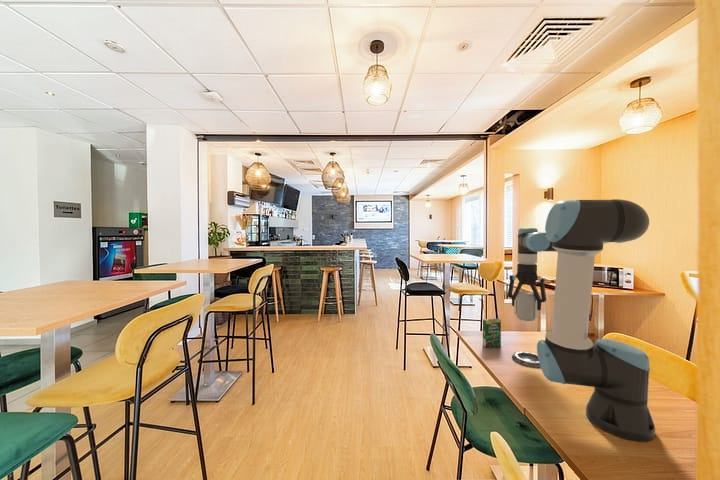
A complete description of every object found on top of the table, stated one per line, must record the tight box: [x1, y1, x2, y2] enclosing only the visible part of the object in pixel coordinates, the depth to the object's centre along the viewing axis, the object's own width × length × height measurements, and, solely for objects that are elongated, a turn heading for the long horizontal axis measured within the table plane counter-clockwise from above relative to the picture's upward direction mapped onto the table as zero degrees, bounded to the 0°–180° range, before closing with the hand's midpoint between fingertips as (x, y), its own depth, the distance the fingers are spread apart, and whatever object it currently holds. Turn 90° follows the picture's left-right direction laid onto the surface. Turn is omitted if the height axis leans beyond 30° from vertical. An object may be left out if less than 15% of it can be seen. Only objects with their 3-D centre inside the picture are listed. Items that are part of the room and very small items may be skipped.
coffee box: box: [482, 318, 502, 349], centre depth 142 cm, size 8×3×13 cm, turn 98°
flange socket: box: [511, 351, 541, 369], centre depth 128 cm, size 13×13×2 cm
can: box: [515, 290, 537, 322], centre depth 131 cm, size 8×8×12 cm
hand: (525, 315), depth 131 cm, fingers closed on can, 7 cm apart
